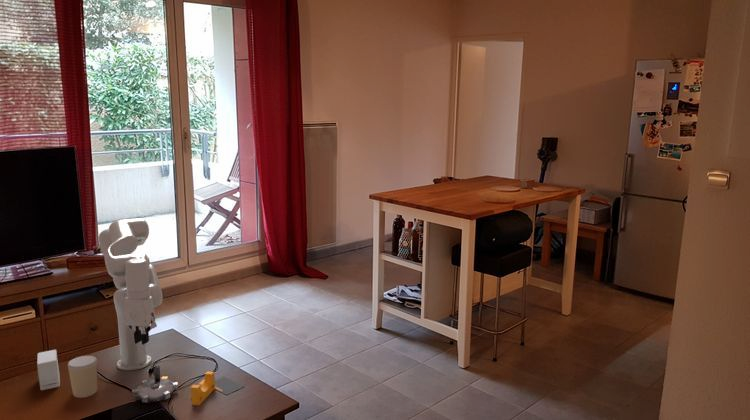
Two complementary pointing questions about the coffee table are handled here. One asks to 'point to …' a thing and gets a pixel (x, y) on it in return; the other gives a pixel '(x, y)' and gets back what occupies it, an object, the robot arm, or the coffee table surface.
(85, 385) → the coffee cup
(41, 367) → the skincare box
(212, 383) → the pipe clamp
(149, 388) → the sprocket
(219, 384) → the mat
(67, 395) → the coffee table surface
